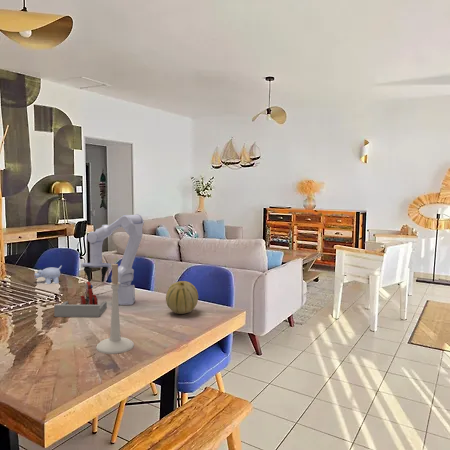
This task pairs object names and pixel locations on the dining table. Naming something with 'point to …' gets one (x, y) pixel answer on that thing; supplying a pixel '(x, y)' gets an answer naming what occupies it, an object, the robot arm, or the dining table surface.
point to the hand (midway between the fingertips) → (96, 281)
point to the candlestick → (115, 324)
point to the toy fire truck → (89, 296)
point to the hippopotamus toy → (49, 274)
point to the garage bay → (78, 310)
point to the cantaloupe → (182, 297)
